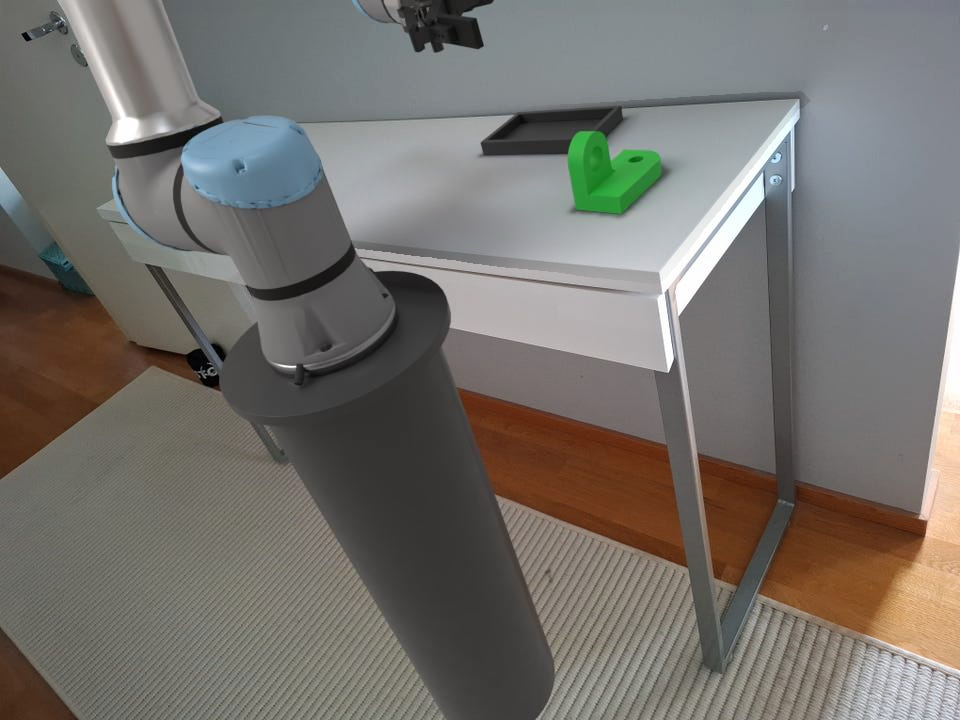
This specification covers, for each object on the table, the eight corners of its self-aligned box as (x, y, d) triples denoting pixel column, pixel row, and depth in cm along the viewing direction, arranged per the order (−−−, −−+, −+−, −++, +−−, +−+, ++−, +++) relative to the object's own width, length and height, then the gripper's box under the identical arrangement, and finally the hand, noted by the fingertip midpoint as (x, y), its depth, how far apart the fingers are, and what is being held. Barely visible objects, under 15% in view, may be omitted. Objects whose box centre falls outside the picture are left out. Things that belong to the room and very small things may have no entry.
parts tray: (589, 152, 90) (587, 138, 89) (483, 155, 100) (480, 142, 99) (623, 119, 97) (621, 105, 96) (520, 124, 107) (518, 112, 106)
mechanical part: (621, 213, 74) (612, 144, 69) (576, 209, 77) (564, 143, 73) (670, 166, 80) (664, 100, 75) (626, 164, 84) (617, 101, 79)
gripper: (511, -14, 88) (624, -7, 73) (353, 69, 81) (443, 96, 66) (496, -79, 83) (614, -85, 68) (327, 5, 76) (417, 18, 61)
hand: (530, 5), depth 67 cm, fingers open, 13 cm apart
